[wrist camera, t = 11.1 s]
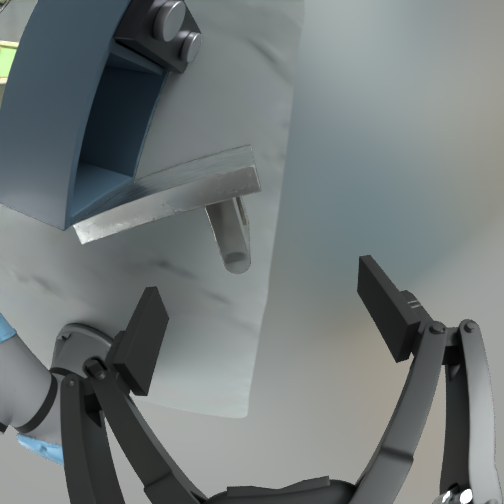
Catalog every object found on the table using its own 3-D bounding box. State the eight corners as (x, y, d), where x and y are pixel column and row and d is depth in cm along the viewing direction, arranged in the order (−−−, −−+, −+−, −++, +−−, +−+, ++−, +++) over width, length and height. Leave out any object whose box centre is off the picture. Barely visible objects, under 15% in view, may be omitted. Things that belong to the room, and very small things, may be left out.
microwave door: (268, 215, 30) (284, 286, 18) (163, 242, 31) (121, 318, 19) (250, 144, 26) (254, 164, 14) (139, 178, 28) (72, 224, 15)
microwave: (209, 35, 21) (181, -26, 8) (152, 188, 28) (91, 242, 16) (117, 21, 19) (48, -18, 6) (72, 163, 26) (-9, 199, 14)
